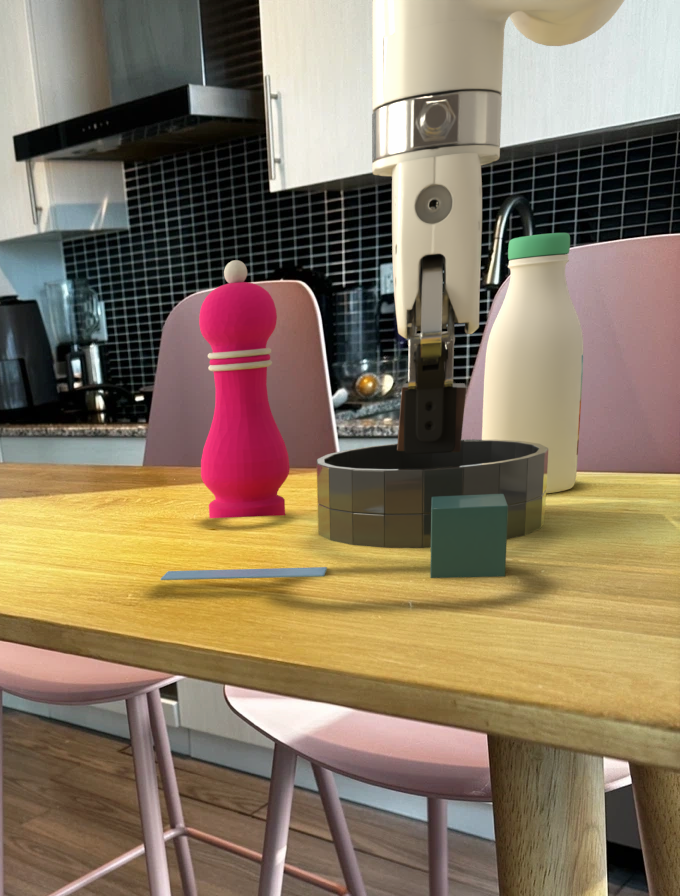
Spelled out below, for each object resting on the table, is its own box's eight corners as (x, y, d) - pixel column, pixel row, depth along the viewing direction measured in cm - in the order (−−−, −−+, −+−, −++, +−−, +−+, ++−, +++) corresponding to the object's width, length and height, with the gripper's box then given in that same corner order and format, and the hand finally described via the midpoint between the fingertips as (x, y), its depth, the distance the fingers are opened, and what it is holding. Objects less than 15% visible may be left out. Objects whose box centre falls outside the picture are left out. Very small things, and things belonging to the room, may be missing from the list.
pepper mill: (232, 513, 90) (219, 265, 83) (306, 515, 86) (299, 255, 79) (187, 529, 85) (169, 265, 78) (264, 532, 81) (252, 254, 74)
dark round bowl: (476, 512, 81) (479, 434, 79) (588, 546, 67) (595, 452, 65) (291, 535, 79) (288, 454, 77) (365, 574, 65) (364, 478, 62)
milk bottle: (576, 495, 84) (593, 226, 77) (477, 498, 87) (485, 238, 80) (575, 480, 91) (591, 232, 84) (483, 483, 93) (491, 243, 86)
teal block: (501, 561, 61) (503, 493, 59) (505, 578, 57) (508, 505, 56) (430, 563, 62) (431, 496, 60) (430, 579, 58) (431, 508, 57)
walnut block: (458, 444, 70) (464, 383, 69) (460, 452, 67) (466, 387, 65) (398, 443, 71) (403, 383, 70) (396, 450, 68) (401, 387, 66)
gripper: (509, 107, 54) (494, 462, 60) (493, 151, 69) (483, 431, 75) (363, 126, 56) (364, 468, 62) (379, 165, 71) (378, 437, 77)
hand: (429, 445), depth 69 cm, fingers closed on walnut block, 4 cm apart
